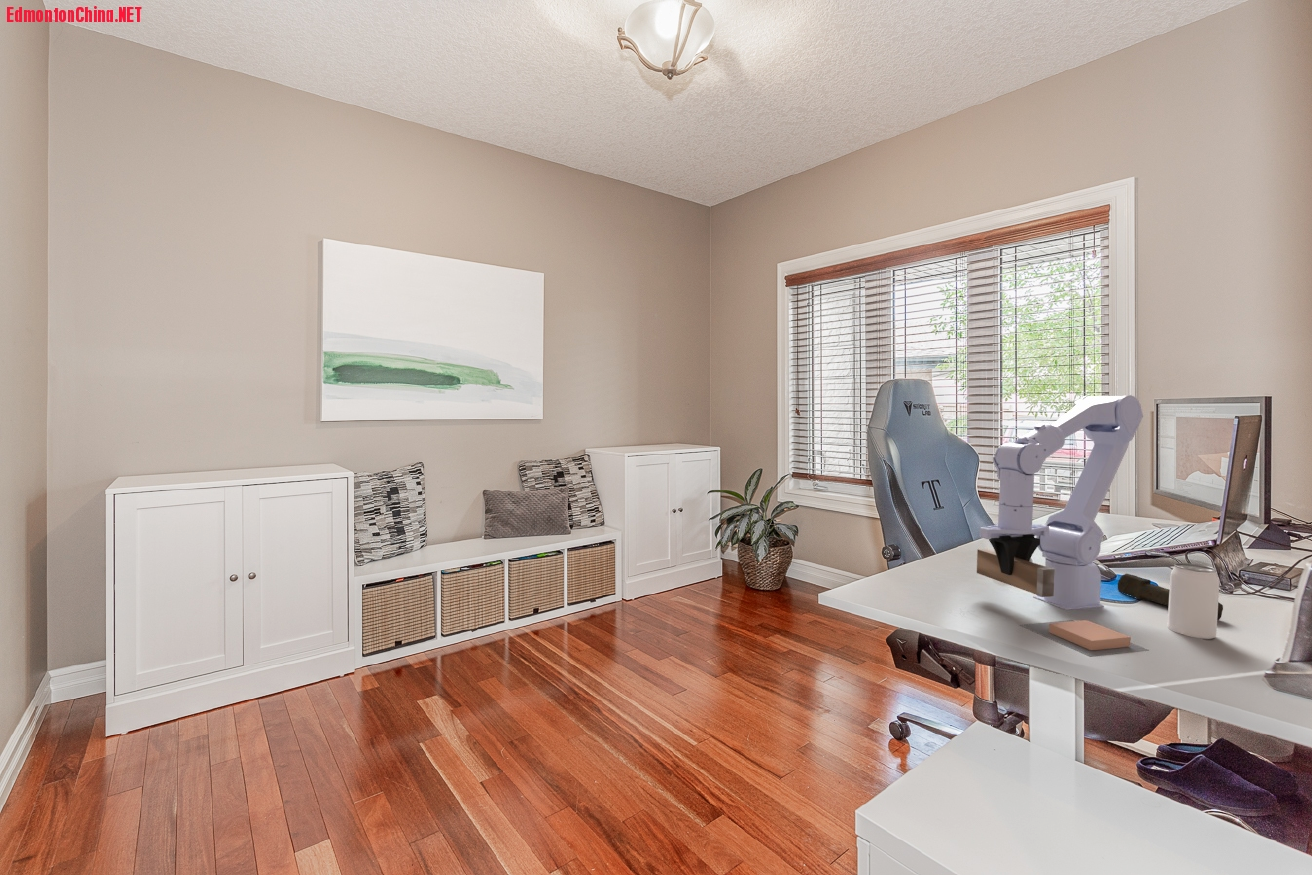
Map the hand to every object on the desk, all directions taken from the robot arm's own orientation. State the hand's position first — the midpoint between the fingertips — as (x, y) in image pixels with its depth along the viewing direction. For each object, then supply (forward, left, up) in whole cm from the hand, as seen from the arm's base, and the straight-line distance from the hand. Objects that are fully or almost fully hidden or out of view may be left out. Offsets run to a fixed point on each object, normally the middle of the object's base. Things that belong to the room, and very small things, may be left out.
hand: (1012, 573), depth 118 cm
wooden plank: (0, 0, -2) cm, 2 cm away
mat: (0, +15, -7) cm, 17 cm away
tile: (0, +12, -6) cm, 14 cm away
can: (-22, +17, -8) cm, 29 cm away
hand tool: (-33, +4, -8) cm, 34 cm away
